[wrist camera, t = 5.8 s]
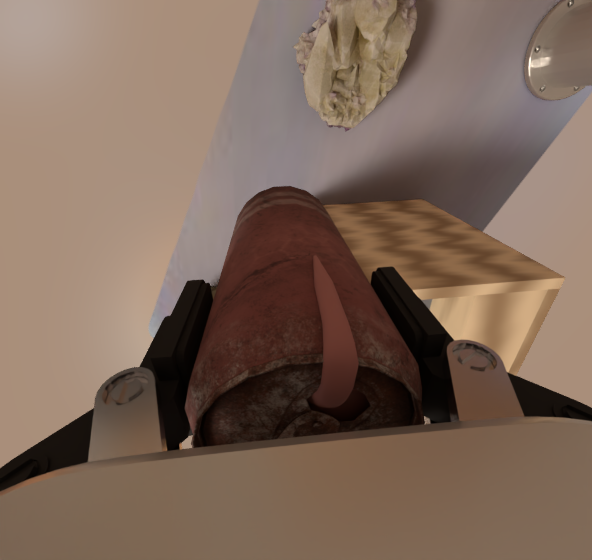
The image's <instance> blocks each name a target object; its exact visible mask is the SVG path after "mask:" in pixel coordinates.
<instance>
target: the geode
mask: <svg viewBox="0 0 592 560" xmlns="http://www.w3.org/2000/svg"><path fill="white" fill-rule="evenodd" d="M415 3H416V0H327V1H326V6H325V9H324V10H322V11H321V12H319V16H320V18H319V19H318V20H317V21H315V22H314V24H313V25H312V27H314V28H316V29H315V31H313V32H311V33H309V34H307V33H305V32H304V33H303V34H302V35H301V37H299V43H297V44H296V45H295V46H293V47H294V48H295V49H296V50H297V54H296V58H297V63H298V64H300V65H299V69H300V71H301V73H303V81H304V89H305V94H306V98H307V101H308V103H309V105H310V106H311V107H312V108H314V109H315V110H316V111H317V112H318V111H320V112H319V115H320V117H321V119H322V120H324V121H326V123H327V126H329V127H330V128H331V127H332V126H337V127H338V128H341V127H345V132H346V131H348V130H349V129H351V128H354V127H355V126H356V125H357V124H358V123H359V122H360V121H361V120H363V119H364V118H365V117H366V116H367V115H368V114H369V113H370V112H371V111H372V110H373V109H374V108H375V107H376V105H378V104H379V103H380V102H381V101H382V100H383V99H384V98H385V96H386V95H387V94H388V92H389V91H390V90H391V89H393V88H394V87H395V86H396V85H397V82H398V79H399V75H400V72H401V70H402V68H403V66H404V63H405V60H406V58H407V53H406V52H407V50H408V48H409V46H410V41H411V38H412V36H413V34H414V32H415V29H416V24H417V12H416V7H415Z"/></svg>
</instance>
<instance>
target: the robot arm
mask: <svg viewBox="0 0 592 560" xmlns="http://www.w3.org/2000/svg"><path fill="white" fill-rule="evenodd" d="M524 74H525V81H526V83H527V86H528V88H529V90H530V91H531V93H532V94H533V95H535V96H536V97H537V98H540V99H543V100H560V99H564V98H567V97H569V96H571V95H574V94H575V93H577V92H579V91H580V90H582V89H583V88H584V87H585V86H589V85H592V0H562V1H561V2H559V3H558V4H557V5H556V6H555V7H554V8H553V9H552V10H551V11H550V12H549V13H548V14H547V15H546V16H545V18H544V19H543V20H542V21H541V23H540V25H539V26H538V28H537V29H536V31H535V33H534V35H533V37H532V39H531V41H530V44H529V47H528V50H527V53H526V58H525V66H524ZM371 286H372V288H373V289H374V291H375V293H376V294H377V296H378V298H379V299H380V301H381V303H382V304H383V306H384V308H385V309H386V311H387V313H388V315H389V316H390V318H391V320H392V321H393V323H394V325H395V326H396V328H397V330H398V331H399V333H400V335H401V336H402V338H403V340H404V341H405V343H406V345H407V346H408V348H409V350H410V352H411V353H412V355H413V357H414V358H415V360H416V362H417V363H418V366H419V372H420V378H421V384H422V403H421V404H422V409H423V415H424V416H425V417H426V424H425V425H414V426H404V427H393V428H383V429H373V430H363V431H353V432H343V433H333V434H323V435H313V436H303V437H293V438H284V439H274V440H264V441H255V442H245V443H236V444H227V445H217V446H208V447H199V448H189V449H182V444H181V443H182V442H183V441H184V440H185V439H186V438H187V437H188V436H191V435H193V433H192V430H191V427H190V423H189V420H188V417H187V414H186V411H185V403H186V398H187V392H188V387H189V381H190V378H191V375H192V371H193V368H194V364H195V361H196V358H197V354H198V351H199V347H200V344H201V341H202V337H203V334H204V330H205V327H206V324H207V320H208V317H209V313H210V310H211V307H212V303H213V295H212V291H211V286H210V284H209V283H205V282H204V280H191V281H187V283H186V285H185V287H184V289H183V291H182V293H181V295H180V297H179V299H178V301H177V304H176V306H175V308H174V310H173V312H172V314H171V316H167V317H165V318H164V320H163V321H162V323H161V325H160V327H159V329H158V331H157V333H156V335H155V337H154V339H153V341H152V343H151V345H150V347H149V349H148V351H147V353H146V355H145V357H144V359H143V361H142V363H141V365H140V367H134V368H130V369H126V370H123V371H121V372H119V373H117V374H115V375H114V376H112V377H110V378H109V379H108V380H107V381H106V382H105V383H104V384H102V386H101V387H100V389H99V390H98V392H97V394H96V398H95V404H94V408H93V409H92V410H90V411H89V412H87V413H86V414H84V415H82V416H81V417H79V418H77V419H76V420H74V421H73V422H71V423H70V424H68V425H66V426H65V427H63V428H62V429H60V430H58V431H57V432H55V433H54V434H52V435H50V436H49V437H47V438H46V439H44V440H42V441H41V442H39V443H38V444H36V445H34V446H33V447H31V448H30V449H28V450H27V451H25V452H24V453H22V454H20V455H19V456H17V457H16V458H14V459H12V460H11V461H10V462H9V463H7V464H6V465H4V466H3V467H2V468H0V560H592V408H591V407H589V406H587V405H585V404H582V403H580V402H578V401H576V400H573V399H571V398H569V397H566V396H564V395H561V394H559V393H556V392H554V391H551V390H549V389H547V388H544V387H542V386H539V385H537V384H535V383H532V382H530V381H527V380H525V379H522V378H520V377H518V376H515V375H513V374H510V373H508V372H507V371H506V368H505V366H504V363H503V361H502V360H501V358H500V356H499V355H498V354H497V353H496V352H495V351H494V350H492V349H491V348H489V347H487V346H486V345H483V344H481V343H479V342H475V341H471V340H462V339H461V340H455V341H454V339H453V338H452V337H451V336H450V334H449V333H448V332H447V331H446V330H445V328H444V327H443V326H442V325H441V323H440V322H439V321H438V320H437V318H436V317H435V316H434V315H433V314H432V312H431V311H430V310H429V309H428V307H427V306H426V305H425V304H424V303H423V301H422V300H421V299H420V298H418V297H417V295H416V294H415V293H414V292H413V290H412V289H411V288H410V287H409V285H408V284H407V283H406V282H405V281H404V279H403V278H402V277H401V276H400V274H399V273H398V272H397V271H396V269H395V268H394V267H392V266H391V267H378V268H377V270H376V271H373V272H372V276H371Z"/></svg>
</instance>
